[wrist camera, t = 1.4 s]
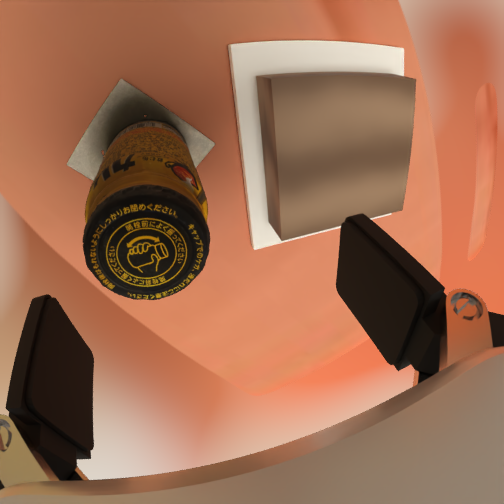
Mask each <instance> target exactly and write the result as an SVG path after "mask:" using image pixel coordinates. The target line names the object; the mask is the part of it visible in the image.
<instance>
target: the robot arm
mask: <svg viewBox="0 0 504 504" xmlns="http://www.w3.org/2000/svg"><path fill="white" fill-rule="evenodd" d="M336 288H337V292H338V294H339V295H340V297H341V298H342V299H343V301H344V302H345V303H346V305H347V306H348V308H349V309H350V310H351V312H352V313H353V314H354V316H355V317H356V319H357V320H358V321H359V323H360V324H361V326H362V327H363V328H364V330H365V331H366V333H367V334H368V335H369V337H370V338H371V340H372V341H373V342H374V344H375V345H376V347H377V348H378V349H379V351H380V352H381V354H382V355H383V357H384V358H385V360H386V361H387V362H388V363H389V364H390V365H394V366H395V368H396V369H397V370H398V371H399V370H401V369H403V368H405V367H407V366H409V365H410V364H411V365H412V366H413V367H414V369H415V373H414V381H413V387H412V388H410V389H408V390H406V391H404V392H402V393H401V394H399V395H397V396H395V397H393V398H391V399H389V400H387V401H386V402H383V403H382V404H379V405H377V406H375V407H373V408H371V409H369V410H367V411H365V412H363V413H361V414H359V415H356V416H354V417H352V418H350V419H347V420H345V421H343V422H341V423H338V424H336V425H333V426H331V427H329V428H326V429H324V430H321V431H319V432H316V433H313V434H311V435H308V436H305V437H303V438H300V439H297V440H294V441H292V442H289V443H286V444H283V445H280V446H277V447H274V448H271V449H268V450H264V451H261V452H257V453H254V454H250V455H247V456H243V457H239V458H236V459H232V460H228V461H224V462H220V463H215V464H211V465H206V466H201V467H196V468H192V469H186V470H180V471H175V472H169V473H162V474H155V475H148V476H139V477H129V478H117V479H102V480H89V479H88V478H87V477H86V476H85V475H84V474H83V472H82V471H81V470H80V469H79V468H78V467H77V459H91V452H90V450H92V449H93V447H94V440H93V368H94V358H93V354H92V351H91V350H90V348H89V347H88V346H87V344H86V343H85V341H84V340H83V339H82V337H81V336H80V334H79V333H78V331H77V330H76V328H75V327H74V325H73V324H72V323H71V321H70V320H69V318H68V316H67V315H66V313H65V312H64V310H63V309H62V307H61V305H60V304H59V302H58V301H57V299H56V298H52V297H51V296H50V295H43V296H40V297H36V298H34V299H32V301H31V304H30V307H29V311H28V314H27V317H26V320H25V323H24V327H23V330H22V334H21V338H20V342H19V345H18V349H17V353H16V357H15V362H14V366H13V370H12V375H11V380H10V386H9V391H8V397H7V403H6V409H7V410H8V411H9V417H8V416H6V415H1V414H0V504H504V315H501V314H496V313H493V312H488V310H487V307H486V304H485V302H484V301H483V299H482V298H481V297H480V296H478V295H477V294H475V293H474V292H472V291H470V290H467V289H455V290H452V291H451V292H449V294H448V295H446V294H445V293H444V289H445V288H444V286H443V285H441V284H440V283H439V282H438V281H437V280H436V279H435V278H434V277H433V276H432V275H431V274H430V273H429V272H428V271H427V270H426V269H425V268H424V267H423V266H422V265H421V264H420V263H419V262H418V261H417V260H416V259H415V258H414V257H412V256H411V255H410V254H409V253H408V252H407V251H406V250H405V249H404V248H403V247H402V246H400V245H399V244H398V243H397V242H396V241H395V240H394V239H393V238H392V237H390V236H389V235H388V234H387V233H386V232H385V231H384V230H382V229H381V228H380V227H379V226H378V225H377V224H376V223H374V222H373V221H372V220H371V219H370V218H369V217H367V216H366V215H365V214H363V213H361V214H357V215H352V216H348V217H346V219H345V222H343V223H342V224H341V232H340V246H339V258H338V269H337V279H336Z"/></svg>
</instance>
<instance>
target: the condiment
mask: <svg viewBox="0 0 504 504" xmlns="http://www.w3.org/2000/svg"><path fill="white" fill-rule="evenodd" d="M144 115H147V117H144ZM214 145H215V143H214V142H213V141H211V140H210V139H208V138H207V137H206V136H204V135H203V134H202V133H200V132H199V131H198V130H196V129H195V128H193V127H192V126H191V125H189V124H188V123H186V122H185V121H184V120H182V119H181V118H179V117H178V116H177V115H175V114H174V113H172V112H171V111H169V110H168V109H166V108H165V107H163V106H162V105H160V104H159V103H157V102H156V101H155V100H153V99H152V98H150V97H149V96H147V95H146V94H144V93H143V92H141V91H140V90H138V89H137V88H135V87H133V86H132V85H130V84H129V83H127V82H126V81H124V80H123V79H120V81H119V82H118V84H117V85H116V86H115V88H114V89H113V91H112V92H111V93H110V95H109V96H108V98H107V99H106V101H105V102H104V103H103V105H102V107H101V108H100V109H99V111H98V113H97V114H96V116H95V117H94V119H93V120H92V122H91V123H90V125H89V127H88V129H87V130H86V131H85V133H84V135H83V136H82V138H81V140H80V141H79V143H78V145H77V147H76V148H75V150H74V152H73V154H72V155H71V157H70V159H69V161H68V163H67V165H68V166H69V167H71V168H73V169H74V170H76V171H77V172H79V173H81V174H83V175H85V176H86V177H87V178H89V179H91V180H93V183H92V185H91V187H90V191H89V194H88V198H87V201H86V208H85V221H86V226H85V229H84V235H83V243H84V244H83V250H84V255H85V260H86V265H87V267H88V268H89V270H90V271H91V272H92V273H93V274H94V276H95V277H96V278H97V279H98V280H99V281H100V283H101V284H102V285H103V286H104V287H106V288H108V289H109V290H111V291H113V292H114V293H117V294H118V295H122V296H125V297H127V298H131V299H137V300H138V299H146V300H157V299H161V298H164V297H167V296H170V295H173V294H175V293H177V292H179V291H181V290H182V289H184V288H185V287H187V286H188V285H189V284H190V283H191V282H192V280H194V279H195V278H196V277H197V276H198V275H199V273H200V272H201V271H202V270H203V268H204V266H205V263H206V259H207V256H208V254H209V244H210V232H209V229H208V226H207V215H208V204H207V199H206V196H205V192H204V190H203V187H202V184H201V181H200V179H199V176H198V173H197V170H196V167H197V166H198V164H199V163H200V162H201V161H202V160H203V159H204V157H205V156H206V155H207V154H208V153H209V151H210V150H211V149H212V148H213V146H214ZM102 150H104V155H105V156H104V155H102V152H101V151H102ZM103 156H104V157H103Z"/></svg>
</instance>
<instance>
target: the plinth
mask: <svg viewBox="0 0 504 504" xmlns="http://www.w3.org/2000/svg"><path fill="white" fill-rule="evenodd" d="M256 83H257V93H258V104H259V114H260V125H261V137H262V148H263V160H264V172H265V184H266V196H267V209H268V222H269V223H270V225H271V226H272V228H273V229H274V231H275V232H276V234H277V235H278V237H279V238H280V240H281V241H284V240H288V239H292V238H296V237H300V236H304V235H307V234H311V233H315V232H319V231H323V230H327V229H331V228H335V227H339V226H341V224H342V223H343V222H345V219H346V217H348V216H352V215H357V214H361V213H363V214H365V215H366V216H367V217H369V218H374V217H378V216H382V215H386V214H390V213H393V212H397V211H401V210H402V209H403V204H404V198H405V191H406V185H407V178H408V171H409V163H410V155H411V146H412V136H413V124H414V110H415V90H416V79H413V78H409V77H405V76H400V75H396V74H390V73H374V72H298V73H282V74H269V75H259V76H256Z"/></svg>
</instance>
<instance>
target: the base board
mask: <svg viewBox="0 0 504 504" xmlns="http://www.w3.org/2000/svg"><path fill="white" fill-rule="evenodd" d="M228 50H229V59H230V67H231V76H232V84H233V93H234V101H235V110H236V118H237V127H238V135H239V144H240V152H241V161H242V169H243V178H244V186H245V195H246V203H247V212H248V220H249V229H250V237H251V245H252V247H253V249H254V250H256V249H260V248H264V247H268V246H271V245H275V244H279V243H283V242H287V241H291V240H295V239H298V238H302V237H306V236H310V235H314V234H318V233H322V232H326V231H329V230H333V229H337V228H341V226H339V227H335V228H331V229H327V230H323V231H319V232H315V233H311V234H307V235H304V236H300V237H296V238H292V239H288V240H284V241H281V240H280V238H279V237H278V235H277V234H276V232H275V231H274V229H273V228H272V226H271V225H270V223H269V222H268V209H267V196H266V184H265V172H264V160H263V148H262V137H261V125H260V114H259V104H258V93H257V83H256V76H259V75H269V74H282V73H298V72H374V73H390V74H396V75H400V76H404V48H398V47H391V46H384V45H375V44H366V43H355V42H340V41H313V40H292V41H264V42H250V43H238V44H230V45H228ZM387 215H391V213H390V214H386V215H382V216H378V217H374V218H370V219H371V220H372V219H376V218H380V217H384V216H387Z"/></svg>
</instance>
